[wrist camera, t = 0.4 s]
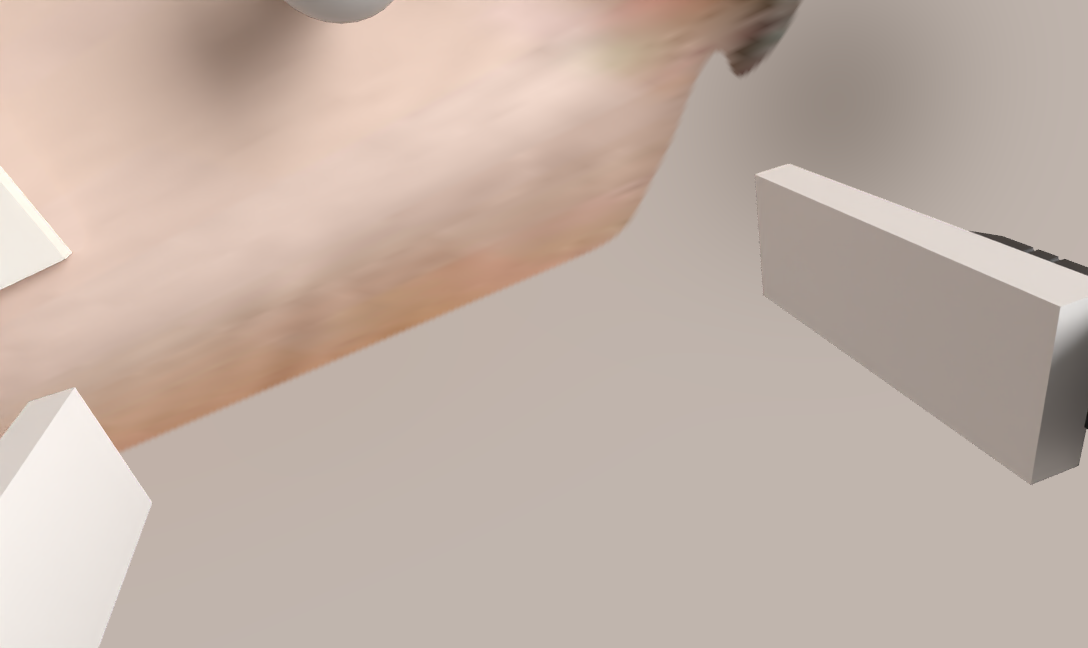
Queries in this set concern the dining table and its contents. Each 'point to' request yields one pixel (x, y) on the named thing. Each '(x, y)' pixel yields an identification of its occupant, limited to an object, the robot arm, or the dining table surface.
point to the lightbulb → (339, 9)
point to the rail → (24, 236)
